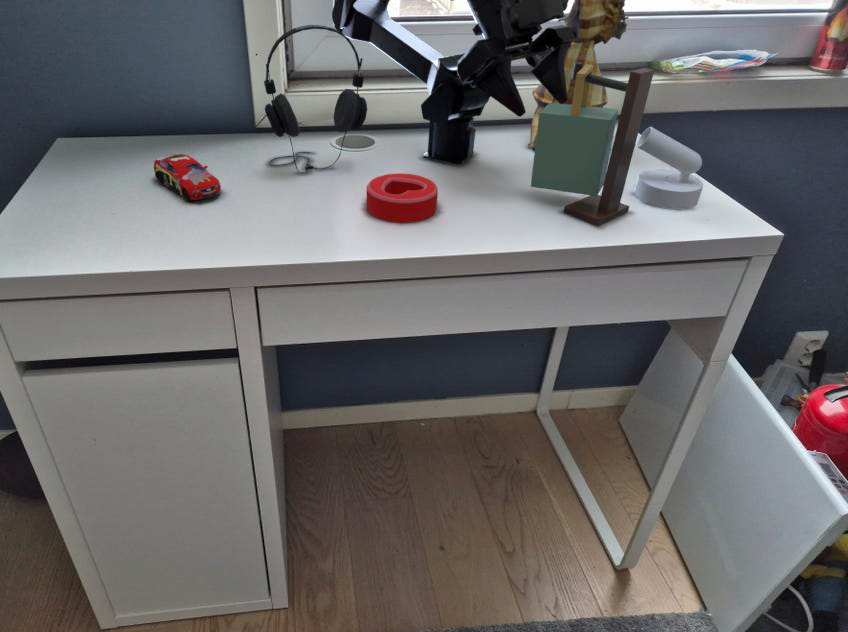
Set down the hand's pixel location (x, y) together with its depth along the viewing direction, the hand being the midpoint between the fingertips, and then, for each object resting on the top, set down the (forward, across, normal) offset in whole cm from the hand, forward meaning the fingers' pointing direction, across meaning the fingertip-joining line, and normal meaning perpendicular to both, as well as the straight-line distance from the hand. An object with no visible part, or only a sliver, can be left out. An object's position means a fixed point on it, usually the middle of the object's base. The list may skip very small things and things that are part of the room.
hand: (544, 108), depth 89 cm
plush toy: (+1, +21, +15) cm, 26 cm away
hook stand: (+14, 0, +2) cm, 14 cm away
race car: (-14, -39, +30) cm, 51 cm away
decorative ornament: (+3, -20, +13) cm, 24 cm away
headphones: (-11, -19, +28) cm, 35 cm away
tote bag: (+11, 0, +2) cm, 11 cm away
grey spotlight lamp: (+18, +12, -2) cm, 22 cm away
